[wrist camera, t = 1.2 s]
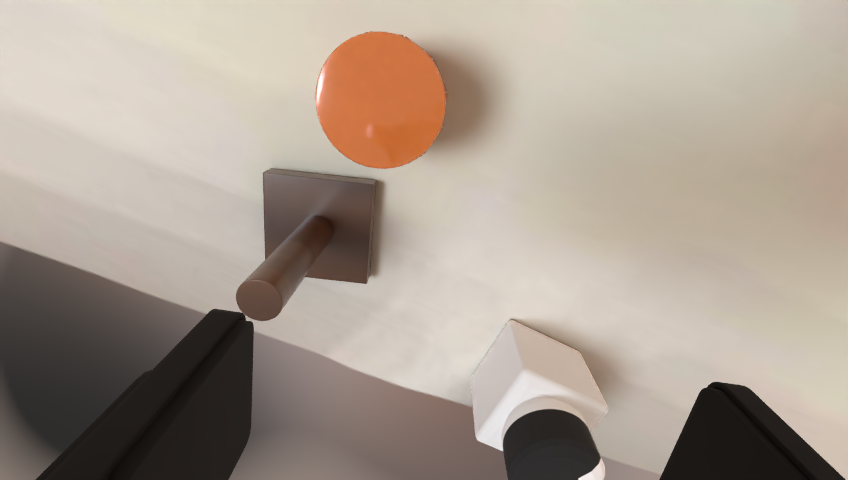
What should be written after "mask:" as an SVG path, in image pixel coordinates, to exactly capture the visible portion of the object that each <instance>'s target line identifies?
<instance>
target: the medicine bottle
mask: <svg viewBox="0 0 848 480" xmlns="http://www.w3.org/2000/svg"><path fill="white" fill-rule="evenodd" d="M470 385H471V395H472V405H473V415H474V425H475V435H476V438H477V440H478V441H480V442H482V443H485V444H487V445H489V446H492V447H494V448H496V449H499V450H501V451H503V452H504V458H505V464H506V470H507V476H508V480H604V475H605V467H604V463H603V461H602V458H601V456H600V454H599V451H598V449H597V447H596V444H595V442H594V440H593V437H592V435H591V431H592V430H593V429H594V428H595V427H596V425H597V424H598V423H599V422H600V421H601V419H602V418H603V417H604V416H605V415H606V413H607V412H608V406H607V404H606V402H605V400H604V398H603V396H602V394H601V392H600V390H599V388H598V386H597V384H596V382H595V380H594V379H593V377H592V375H591V373H590V371H589V369H588V367H587V365H586V363H585V361H584V359H583V357H582V355H581V353H580V352H579V351H577V350H575V349H573V348H571V347H569V346H566V345H564V344H562V343H560V342H558V341H556V340H554V339H552V338H550V337H547V336H545V335H543V334H541V333H539V332H537V331H535V330H533V329H530V328H528V327H526V326H524V325H522V324H520V323H518V322H516V321H513V320H509V321H508V322H507V324H506V325H505V327H504V328H503V330H502V331H501V333H500V334H499V336H498V337H497V339H496V340H495V342H494V343H493V345H492V346H491V348H490V349H489V351H488V352H487V354H486V355H485V357H484V358H483V360H482V361H481V363H480V364H479V366H478V367H477V369H476V370H475V372H474V373H473V375H472V376H471V379H470Z"/></svg>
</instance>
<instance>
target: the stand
mask: <svg viewBox="0 0 848 480" xmlns="http://www.w3.org/2000/svg"><path fill="white" fill-rule="evenodd" d="M375 189H376V180H371V179H362V178H353V177H344V176H335V175H326V174H317V173H308V172H299V171H290V170H281V169H272V168H271V169H269V170H267V171H265V172H263V192H264V230H265V261H264V262H263V263H262V264H261V265H260V266H259V267H258V268H257V269H256V270H255V271H254V272H253V273H252V274H251V275H250V276H249V277H248V278H247V279H246V280H245V281H244V282H243V283H242V284H241V285H240V287H239V288H238V290H237V293H236V301H237V304H238V306H239V308H240V310H241V311H242V312H243V313H244V314H245V315H247V316H248V317H250V318H252V319H255V320H259V321H266V320H270V319H273V318H275V317H276V316H277V315H278V314H279V313H280V312H281V310H282V309H283V307H284V306H285V304H286V303H287V302H288V300H289V299H290V297H291V296H292V294H293V293H294V292H295V290H296V289H297V287H298V286H299V284H300V283H301V281H302V280H303V279H304V277H310V278H319V279H328V280H337V281H346V282H355V283H364V284H367V281H368V279H369V276H370V264H371V249H372V234H373V219H374V204H375Z"/></svg>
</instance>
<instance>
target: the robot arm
mask: <svg viewBox="0 0 848 480" xmlns="http://www.w3.org/2000/svg"><path fill="white" fill-rule="evenodd" d="M253 334H254V327H253V323H252V322H251V321H246V318H245V315H244V314H243V313H240V312H233V311H226V310H219V309H213V310H211V311H210V312H209V313H208V314H207V315H206V316H205V317H204V318H203V319H202V320H201V321H200V322H199V323H198V324H197V325H196V326H195V327H194V328H193V329H192V330H191V331H190V332H189V333H188V334H187V336H185V337H184V338H183V339H182V340H181V341H180V342H179V343H178V344H177V345H176V346H175V348H174V349H173V350H172V351H171V352H170V353H169V354H168V355H167V356H166V357H165V358H164V359H163V360H162V361H161V362H160V363H159V364H158V365H157V366H156V367H155V368H154V369H153V370H150V371H147V372H145V373H144V374H142V375H141V376H140V377H139V378H137V379H136V380H135V381H134V382H133V384H132V385H130V386H129V388H127V389H126V390H125V391H124V392H123V393H122V394H121V395H120V396H119V397H118V398H117V399H116V400H115V401H114V402H113V403H112V404H111V405H110V406H109V407H108V408H107V409H106V410H105V411H104V412H103V413H102V414H101V415H100V416H99V417H98V418H97V419H96V420H95V421H94V422H93V423H92V424H91V425H90V426H89V427H88V428H87V429H86V430H85V431H84V432H83V433H82V434H81V435H80V436H79V437H78V438H77V439H76V440H75V441H74V442H73V443H72V444H71V445H70V446H69V447H68V448H67V449H66V450H65V451H64V452H63V453H62V454H61V455H60V456H59V457H58V458H57V459H56V460H55V461H54V462H53V463H52V464H51V465H50V466H49V467H48V468H47V469H46V470H45V471H44V472H43V473H42V474H41V475H40V476H39V477H38V478H37V479H36V480H228V479H229V477H230V475H231V474H232V472H233V470H234V468H235V466H236V464H237V462H238V460H239V458H240V456H241V454H242V452H243V450H244V448H245V446H246V444H247V441H248V438H249V435H250V430H251V409H252V408H251V407H252V371H253V369H252V368H253ZM660 480H845V479H844V478H843V477H842V476H841V475H840V474H839V473H838V472H837V471H836V470H835V469H834V468H833V467H832V466H831V465H830V464H828V463H827V462H826V461H825V460H824V459H823V458H822V457H821V456H820V455H819V454H818V453H817V452H816V451H815V450H814V449H813V448H812V447H811V446H810V445H808V444H807V443H806V442H805V441H804V440H803V439H802V438H801V437H800V436H799V435H798V434H797V433H796V432H795V431H794V430H793V429H792V428H791V427H789V426H788V425H787V424H786V423H785V422H784V421H783V420H782V419H781V418H780V417H779V416H778V415H777V414H776V413H775V412H774V411H773V410H772V409H770V408H769V407H768V406H767V405H766V404H765V403H764V402H763V401H762V400H761V399H760V398H759V397H758V396H757V395H756V394H755V393H754V392H753V391H752V390H750V389H749V388H747V387H745V386H742V385H735V384H728V383H721V382H713V383H711V384H710V385H708V387H707V388H704V389H702V390H701V392H700V393H699V395H698V397H697V399H696V402H695V404H694V406H693V408H692V410H691V412H690V415H689V417H688V419H687V421H686V423H685V425H684V428H683V430H682V432H681V434H680V436H679V438H678V441H677V443H676V445H675V447H674V449H673V451H672V454H671V456H670V458H669V460H668V462H667V465H666V467H665V469H664V471H663V473H662V475H661V478H660Z"/></svg>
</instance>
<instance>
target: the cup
mask: <svg viewBox="0 0 848 480" xmlns="http://www.w3.org/2000/svg"><path fill="white" fill-rule="evenodd" d="M446 99H447V93H446V88H445V86H444V83H443V81H442V78H441V76H440V73H439V71H438V68H437V66H436V63H435V61H434V60H433V59H432V57H431V56H430V55H429V54H428V53H426V52H425V51H424V50H423V49H421V48H420V47H419V46H418V45H417V44H415V43H414V42H412V41H411V40H410V39H409V38H407V37H406V36H405V37H404V36H403V35H398V34H393V33H388V32H366V33H364V34H360V35H357V36H355V37H352V38H350V39H348V40H347V41H345V42H344V43H342V44H341V45H340V46H339V47H337V48H336V49H335V50H334V51H333V52H332V54H331V55H330V56H329V57H328V59H327V60H326V62H325V64H324V66H323V68H322V69H321V72H320V75H319V78H318V82H317V87H316V108H317V114H318V117H319V121H320V124H321V126H322V128H323V131H324V132H325V134H326V136H327V137H328V139H329V140H330V142H331V143H332V144H333V145H334V146H335V147H336V149H337V150H338V151H339V152H341V153H342V154H343V155H344V156H346V157H347V158H349V159H351V160H352V161H354V162H356V163H358V164H361V165H364V166H367V167H372V168H381V169H386V168H394V167H399V166H402V165H405V164H408V163H410V162H411V161H413V160H415V159H417V158H418V157H420V156H422V154H424V153H425V152H426V151H427V149H428V148H429V147H430V146H431V145H432V143H433V142H434V140H435V139H436V137H437V136H438V134H439V133H440V131H441V130H442V126H443V124H444V116H445V107H446Z"/></svg>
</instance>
